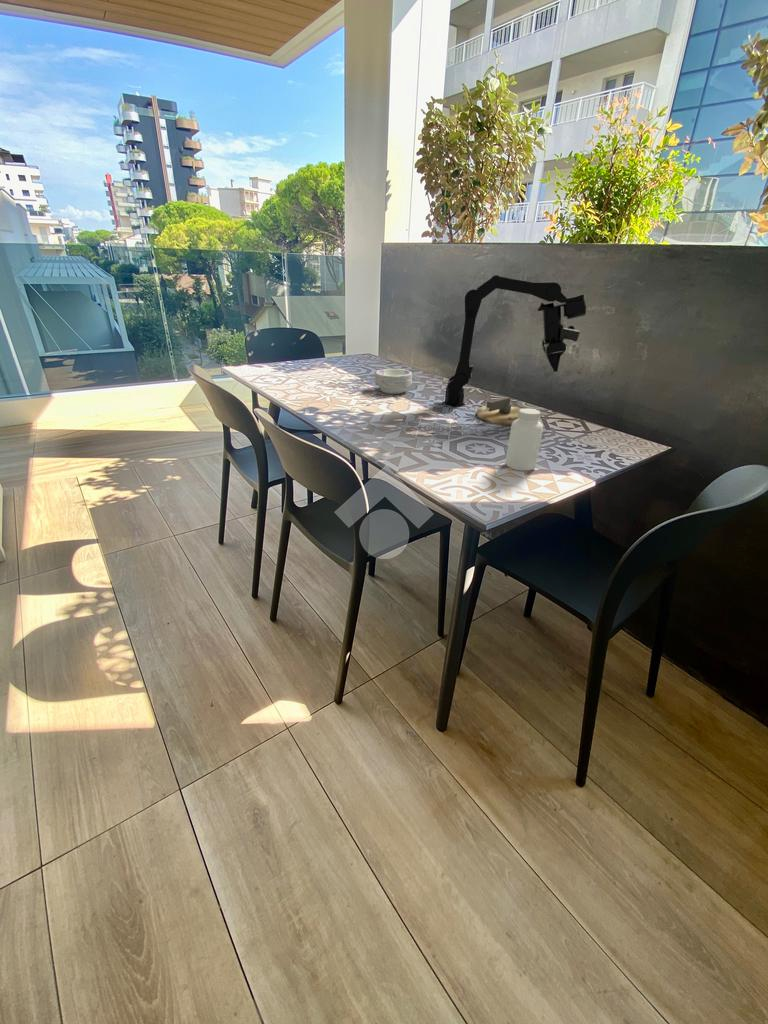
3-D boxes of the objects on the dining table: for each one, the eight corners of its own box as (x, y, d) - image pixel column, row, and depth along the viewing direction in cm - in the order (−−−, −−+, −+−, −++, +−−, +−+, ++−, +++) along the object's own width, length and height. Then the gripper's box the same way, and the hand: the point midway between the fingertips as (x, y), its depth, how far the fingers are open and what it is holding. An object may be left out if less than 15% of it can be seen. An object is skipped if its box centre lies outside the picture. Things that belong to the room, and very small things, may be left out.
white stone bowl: (373, 386, 193) (373, 367, 189) (408, 386, 195) (409, 368, 191) (376, 396, 180) (376, 375, 176) (414, 396, 181) (415, 376, 177)
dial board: (465, 414, 160) (466, 409, 160) (498, 406, 172) (498, 401, 171) (510, 428, 148) (511, 423, 147) (542, 418, 159) (543, 413, 158)
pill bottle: (500, 460, 124) (509, 406, 117) (529, 459, 125) (539, 406, 118) (510, 471, 117) (520, 415, 110) (540, 471, 118) (552, 415, 111)
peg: (503, 409, 161) (505, 395, 159) (512, 412, 159) (515, 398, 156) (476, 417, 153) (478, 402, 150) (485, 419, 150) (487, 405, 148)
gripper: (582, 320, 143) (583, 370, 150) (573, 314, 159) (574, 359, 166) (545, 327, 146) (547, 376, 153) (540, 321, 162) (542, 365, 169)
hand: (554, 368), depth 160 cm, fingers open, 9 cm apart
